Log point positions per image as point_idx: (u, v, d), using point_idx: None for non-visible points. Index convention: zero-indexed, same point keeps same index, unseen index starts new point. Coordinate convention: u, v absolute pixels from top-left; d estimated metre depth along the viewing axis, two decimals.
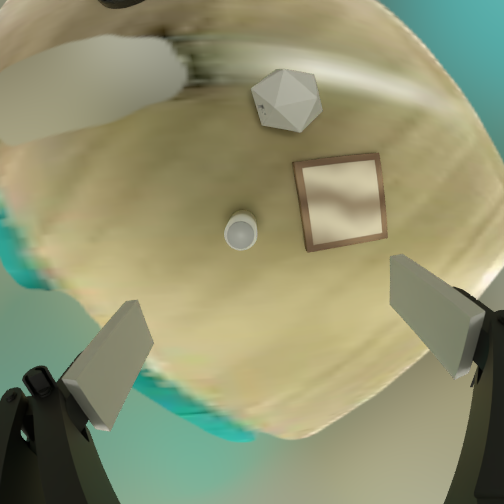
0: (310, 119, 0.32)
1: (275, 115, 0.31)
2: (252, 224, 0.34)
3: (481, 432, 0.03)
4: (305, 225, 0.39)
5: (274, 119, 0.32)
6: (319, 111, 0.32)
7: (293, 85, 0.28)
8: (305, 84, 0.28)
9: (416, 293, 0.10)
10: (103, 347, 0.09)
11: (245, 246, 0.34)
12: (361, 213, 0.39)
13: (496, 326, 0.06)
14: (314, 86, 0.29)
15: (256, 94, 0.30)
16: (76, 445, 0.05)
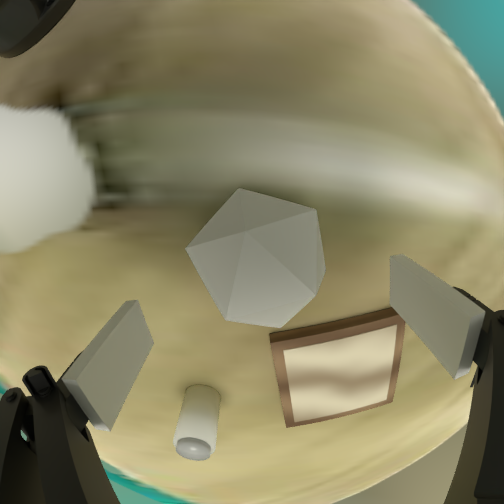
0: None
1: None
2: (207, 440, 0.21)
3: (481, 432, 0.03)
4: (284, 407, 0.26)
5: None
6: None
7: (267, 271, 0.15)
8: (293, 262, 0.15)
9: (416, 293, 0.10)
10: (103, 347, 0.09)
11: (200, 459, 0.21)
12: (363, 388, 0.26)
13: (496, 326, 0.06)
14: (313, 255, 0.16)
15: (195, 267, 0.17)
16: (76, 445, 0.05)
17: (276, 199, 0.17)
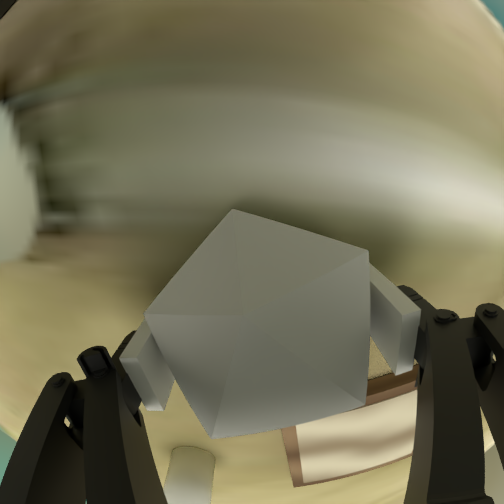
0: None
1: None
2: None
3: (428, 436, 0.04)
4: (292, 471, 0.18)
5: None
6: None
7: (285, 381, 0.07)
8: (334, 360, 0.07)
9: None
10: None
11: None
12: (388, 447, 0.18)
13: (433, 327, 0.07)
14: (365, 338, 0.08)
15: (160, 348, 0.09)
16: (128, 432, 0.06)
17: (299, 231, 0.10)
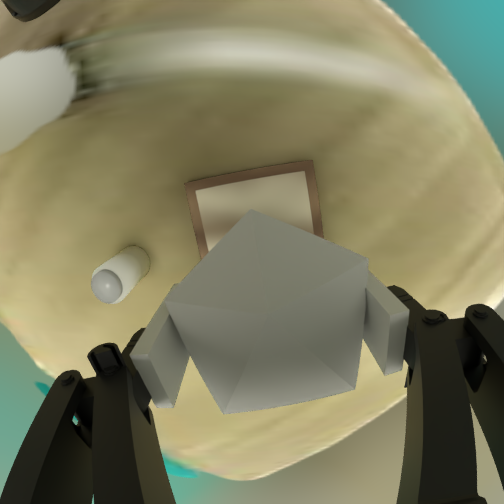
0: None
1: None
2: (118, 273, 0.24)
3: (418, 438, 0.04)
4: None
5: None
6: None
7: (294, 367, 0.09)
8: (334, 351, 0.09)
9: None
10: (166, 324, 0.11)
11: (112, 300, 0.24)
12: None
13: (421, 327, 0.07)
14: (359, 333, 0.10)
15: (179, 332, 0.11)
16: (138, 430, 0.06)
17: (310, 236, 0.11)
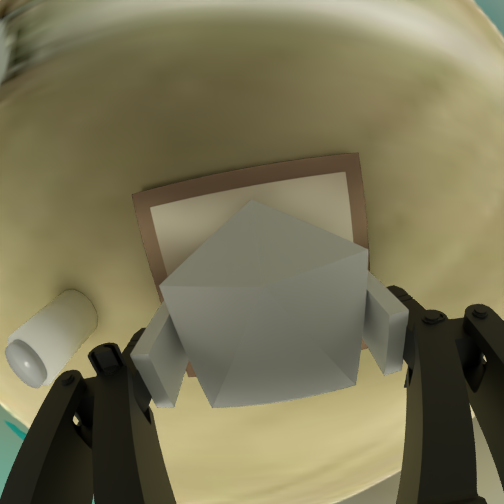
0: None
1: None
2: (36, 349, 0.12)
3: (417, 437, 0.04)
4: None
5: None
6: None
7: (289, 353, 0.08)
8: (333, 339, 0.09)
9: None
10: (166, 323, 0.11)
11: (35, 385, 0.12)
12: None
13: (420, 327, 0.07)
14: (360, 324, 0.09)
15: (172, 319, 0.11)
16: (139, 429, 0.06)
17: (309, 226, 0.11)
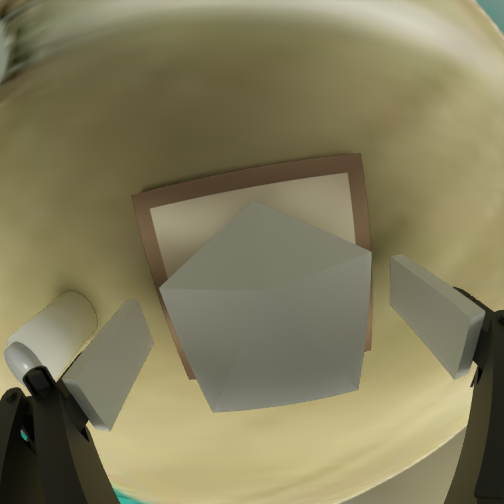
0: None
1: None
2: (35, 351, 0.12)
3: (481, 432, 0.03)
4: (173, 334, 0.17)
5: None
6: None
7: (291, 357, 0.08)
8: (336, 343, 0.08)
9: (416, 293, 0.10)
10: (103, 347, 0.09)
11: None
12: None
13: (496, 326, 0.06)
14: (363, 328, 0.09)
15: (172, 322, 0.10)
16: (76, 445, 0.05)
17: (312, 228, 0.11)
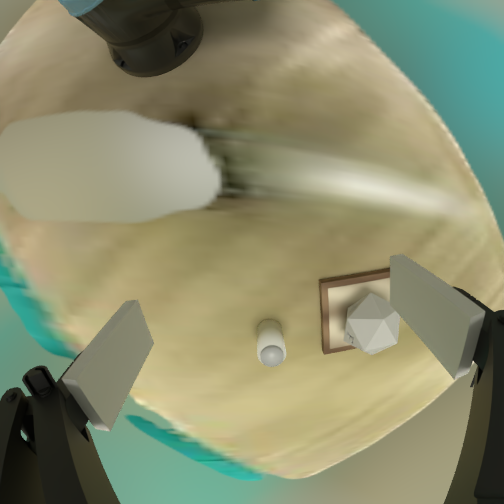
0: None
1: None
2: (282, 347, 0.37)
3: (481, 432, 0.03)
4: (324, 334, 0.43)
5: None
6: None
7: (385, 333, 0.34)
8: (393, 330, 0.34)
9: (416, 293, 0.10)
10: (103, 347, 0.09)
11: (275, 365, 0.37)
12: None
13: (496, 326, 0.06)
14: (398, 327, 0.35)
15: (351, 328, 0.36)
16: (76, 445, 0.05)
17: (386, 301, 0.37)
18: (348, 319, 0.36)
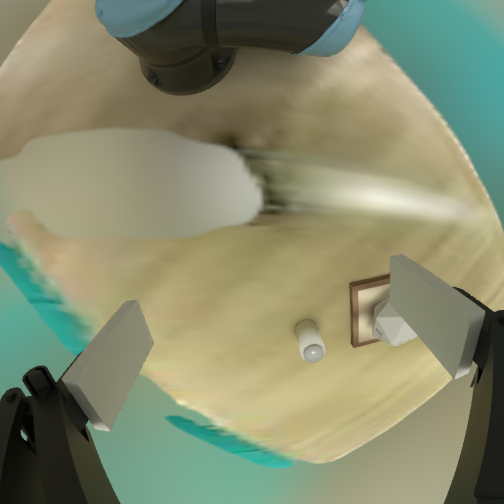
0: None
1: None
2: (322, 345, 0.42)
3: (481, 432, 0.03)
4: (354, 330, 0.47)
5: None
6: None
7: (408, 329, 0.38)
8: None
9: (416, 293, 0.10)
10: (103, 347, 0.09)
11: (316, 360, 0.42)
12: None
13: (496, 326, 0.06)
14: None
15: (380, 325, 0.40)
16: (76, 445, 0.05)
17: None
18: (377, 317, 0.41)
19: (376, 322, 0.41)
